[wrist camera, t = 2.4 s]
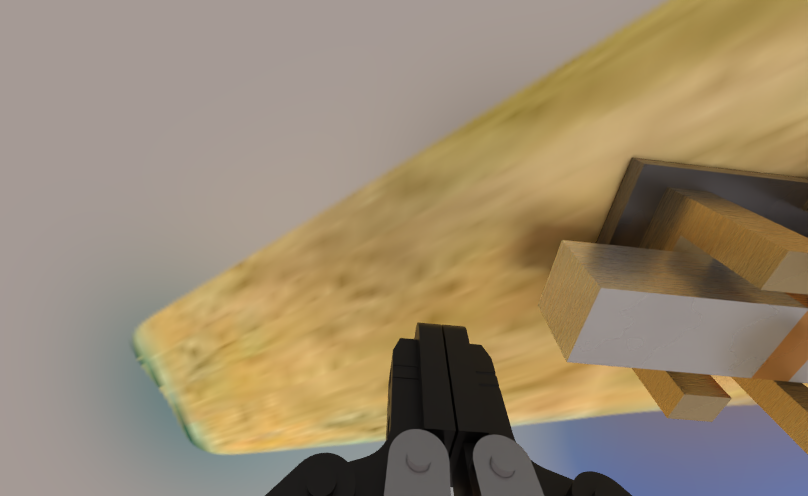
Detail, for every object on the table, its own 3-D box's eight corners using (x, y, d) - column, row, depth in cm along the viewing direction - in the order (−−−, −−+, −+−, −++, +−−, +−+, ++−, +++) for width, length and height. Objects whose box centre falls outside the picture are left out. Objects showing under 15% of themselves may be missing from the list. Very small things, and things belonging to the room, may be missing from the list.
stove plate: (946, 194, 18) (974, 202, 17) (811, 344, 22) (828, 356, 22) (632, 157, 17) (644, 163, 16) (563, 321, 22) (569, 332, 21)
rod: (983, 283, 17) (1118, 338, 13) (920, 341, 18) (1026, 402, 15) (562, 239, 16) (600, 287, 12) (537, 305, 17) (566, 362, 14)
